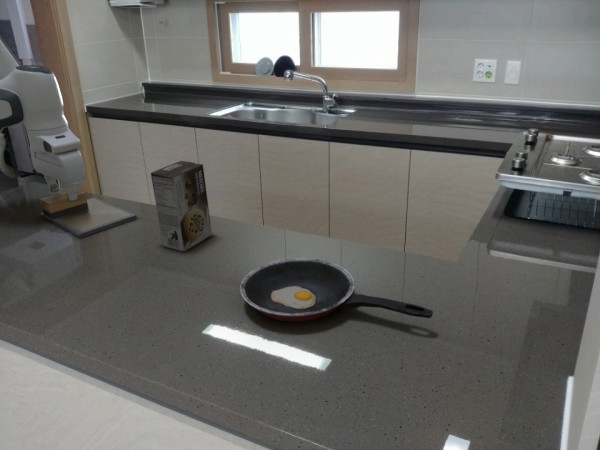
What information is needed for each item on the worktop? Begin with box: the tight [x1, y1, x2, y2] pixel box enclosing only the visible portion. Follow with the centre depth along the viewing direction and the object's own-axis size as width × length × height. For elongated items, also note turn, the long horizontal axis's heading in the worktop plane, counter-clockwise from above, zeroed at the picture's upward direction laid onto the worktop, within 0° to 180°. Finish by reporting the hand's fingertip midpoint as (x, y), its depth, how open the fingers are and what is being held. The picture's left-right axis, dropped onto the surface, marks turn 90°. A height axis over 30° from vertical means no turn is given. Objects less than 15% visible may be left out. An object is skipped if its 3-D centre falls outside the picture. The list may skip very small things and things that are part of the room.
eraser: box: [39, 188, 88, 219], centre depth 129 cm, size 5×9×4 cm, turn 137°
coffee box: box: [150, 160, 213, 252], centre depth 110 cm, size 9×6×16 cm
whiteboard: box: [40, 196, 137, 239], centre depth 128 cm, size 20×14×1 cm
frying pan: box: [239, 257, 434, 323], centre depth 86 cm, size 19×32×4 cm, turn 61°
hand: (63, 195), depth 128 cm, fingers open, 8 cm apart
